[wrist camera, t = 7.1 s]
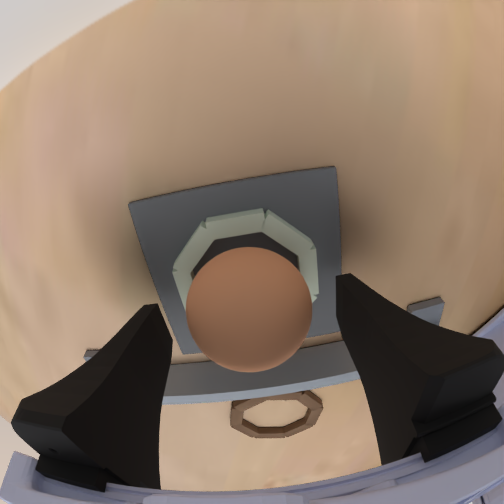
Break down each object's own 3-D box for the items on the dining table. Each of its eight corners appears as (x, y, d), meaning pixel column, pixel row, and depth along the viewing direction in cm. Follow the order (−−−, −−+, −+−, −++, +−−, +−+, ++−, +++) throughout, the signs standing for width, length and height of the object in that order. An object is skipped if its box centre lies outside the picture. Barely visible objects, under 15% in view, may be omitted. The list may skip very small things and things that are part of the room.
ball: (255, 204, 13) (265, 262, 8) (319, 281, 15) (350, 354, 10) (171, 271, 14) (147, 346, 10) (241, 333, 16) (243, 411, 11)
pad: (333, 166, 12) (340, 170, 12) (339, 327, 16) (344, 338, 16) (129, 202, 13) (123, 209, 12) (183, 350, 17) (181, 361, 16)
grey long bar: (112, 389, 19) (103, 416, 16) (86, 350, 17) (73, 378, 15) (428, 343, 18) (443, 368, 16) (439, 296, 16) (460, 321, 14)
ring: (286, 373, 18) (287, 380, 17) (334, 409, 20) (335, 415, 20) (212, 409, 20) (212, 416, 19) (267, 439, 22) (267, 445, 21)
